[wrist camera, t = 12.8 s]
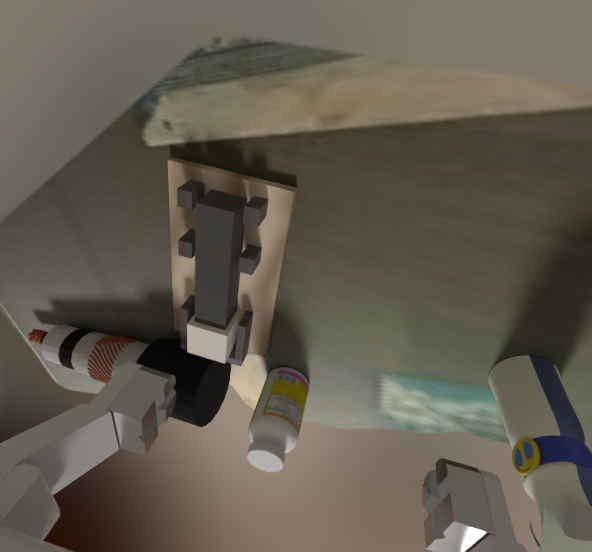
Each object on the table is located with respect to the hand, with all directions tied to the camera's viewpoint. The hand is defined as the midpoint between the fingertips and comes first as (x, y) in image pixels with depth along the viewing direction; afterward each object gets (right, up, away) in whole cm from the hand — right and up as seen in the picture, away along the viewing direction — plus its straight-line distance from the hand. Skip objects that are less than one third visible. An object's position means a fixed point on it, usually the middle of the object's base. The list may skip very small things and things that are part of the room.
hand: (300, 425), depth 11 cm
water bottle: (+28, -8, +34) cm, 44 cm away
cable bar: (-9, +5, +33) cm, 35 cm away
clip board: (-9, +6, +34) cm, 36 cm away
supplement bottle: (-1, -11, +43) cm, 45 cm away
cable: (-26, -6, +47) cm, 54 cm away
